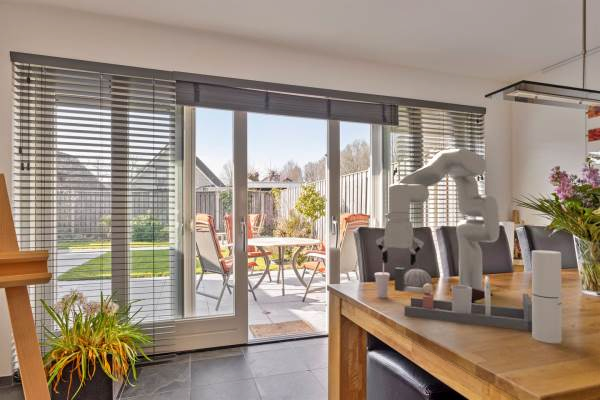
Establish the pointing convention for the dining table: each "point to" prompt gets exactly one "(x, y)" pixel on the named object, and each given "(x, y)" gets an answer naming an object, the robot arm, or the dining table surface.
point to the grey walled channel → (477, 308)
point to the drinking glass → (461, 298)
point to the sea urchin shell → (417, 278)
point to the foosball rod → (414, 288)
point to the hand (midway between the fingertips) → (398, 263)
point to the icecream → (477, 294)
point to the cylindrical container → (546, 296)
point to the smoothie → (382, 283)
